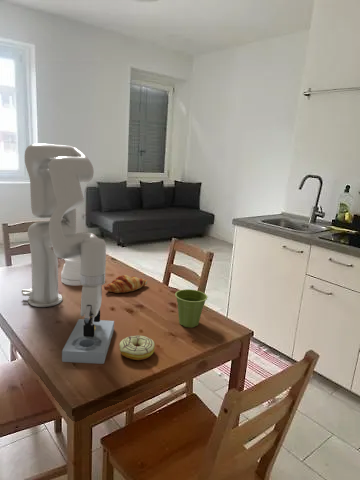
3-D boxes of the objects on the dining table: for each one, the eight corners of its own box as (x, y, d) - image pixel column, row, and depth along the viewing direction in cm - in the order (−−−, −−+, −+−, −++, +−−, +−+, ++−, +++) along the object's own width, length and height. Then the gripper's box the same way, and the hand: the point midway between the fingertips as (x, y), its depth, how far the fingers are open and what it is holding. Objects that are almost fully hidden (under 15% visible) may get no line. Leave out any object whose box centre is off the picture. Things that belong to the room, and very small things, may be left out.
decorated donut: (123, 341, 114) (124, 330, 113) (155, 345, 114) (157, 335, 113) (115, 359, 104) (116, 347, 103) (151, 364, 104) (152, 352, 103)
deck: (78, 328, 122) (78, 319, 121) (113, 330, 122) (114, 320, 121) (62, 361, 102) (61, 351, 101) (103, 363, 103) (104, 353, 102)
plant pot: (210, 328, 129) (213, 299, 126) (181, 333, 124) (184, 303, 121) (195, 314, 139) (197, 287, 136) (167, 318, 134) (169, 290, 131)
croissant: (143, 291, 166) (139, 274, 167) (154, 286, 158) (150, 269, 160) (101, 298, 152) (98, 280, 154) (111, 293, 145) (107, 275, 146)
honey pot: (55, 282, 160) (54, 244, 156) (77, 275, 170) (78, 239, 166) (73, 290, 153) (74, 250, 149) (96, 282, 164) (97, 245, 159)
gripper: (86, 268, 117) (86, 315, 121) (73, 287, 101) (73, 342, 105) (109, 269, 118) (108, 316, 122) (100, 289, 101) (98, 343, 105)
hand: (92, 328), depth 113 cm, fingers open, 9 cm apart
